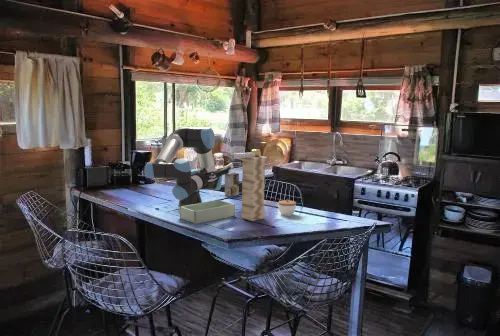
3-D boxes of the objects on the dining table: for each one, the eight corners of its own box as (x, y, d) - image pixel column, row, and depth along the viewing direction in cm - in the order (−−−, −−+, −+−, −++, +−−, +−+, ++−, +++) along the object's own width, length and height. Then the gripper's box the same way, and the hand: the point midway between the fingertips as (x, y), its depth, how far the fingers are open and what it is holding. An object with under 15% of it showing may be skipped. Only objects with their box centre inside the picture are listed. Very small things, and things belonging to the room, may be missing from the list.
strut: (238, 158, 224) (238, 151, 224) (232, 157, 228) (232, 150, 227) (261, 156, 237) (262, 149, 236) (255, 155, 240) (256, 149, 240)
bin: (194, 224, 226) (194, 211, 225) (179, 218, 236) (179, 206, 235) (235, 215, 245) (235, 204, 244) (219, 210, 256) (219, 199, 255)
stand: (252, 221, 232) (253, 158, 227) (238, 217, 241) (239, 156, 236) (267, 218, 240) (268, 157, 235) (253, 214, 249) (254, 155, 244)
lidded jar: (294, 212, 255) (295, 197, 254) (296, 217, 245) (296, 201, 244) (277, 212, 256) (278, 197, 254) (278, 216, 245) (278, 201, 244)
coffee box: (232, 193, 310) (232, 172, 307) (239, 194, 306) (239, 173, 303) (224, 195, 303) (224, 173, 301) (230, 196, 299) (230, 174, 296)
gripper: (183, 188, 219) (209, 173, 235) (217, 187, 204) (242, 170, 219) (179, 175, 217) (205, 161, 233) (213, 173, 202) (238, 157, 217)
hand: (223, 165), depth 226 cm, fingers open, 13 cm apart
